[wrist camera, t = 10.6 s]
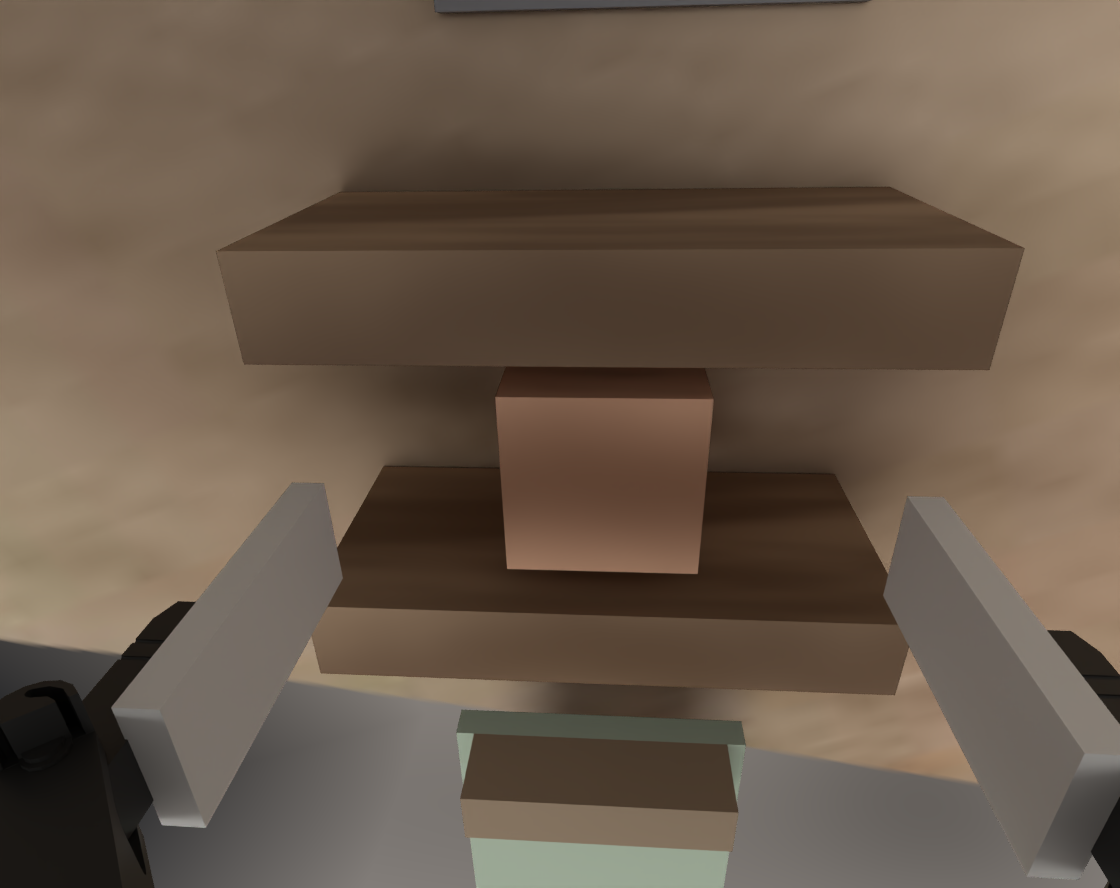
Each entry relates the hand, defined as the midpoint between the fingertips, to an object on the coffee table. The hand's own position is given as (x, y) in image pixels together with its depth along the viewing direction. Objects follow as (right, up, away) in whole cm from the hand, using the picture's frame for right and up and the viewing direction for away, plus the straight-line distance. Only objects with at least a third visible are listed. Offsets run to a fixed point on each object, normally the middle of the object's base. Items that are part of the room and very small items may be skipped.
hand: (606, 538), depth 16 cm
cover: (0, -11, +7) cm, 13 cm away
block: (0, +4, +7) cm, 8 cm away
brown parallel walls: (0, +4, +7) cm, 8 cm away
